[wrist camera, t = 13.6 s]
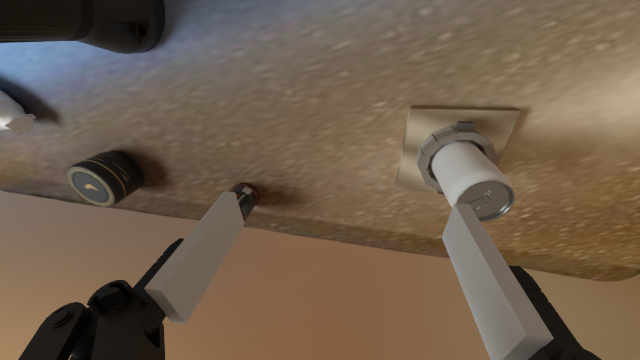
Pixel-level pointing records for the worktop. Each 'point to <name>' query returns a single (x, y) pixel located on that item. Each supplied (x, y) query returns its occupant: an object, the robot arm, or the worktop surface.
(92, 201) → the jar
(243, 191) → the supplement bottle
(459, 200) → the can
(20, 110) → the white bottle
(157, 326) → the robot arm
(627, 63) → the worktop surface
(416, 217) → the worktop surface
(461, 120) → the grey ring holder base
